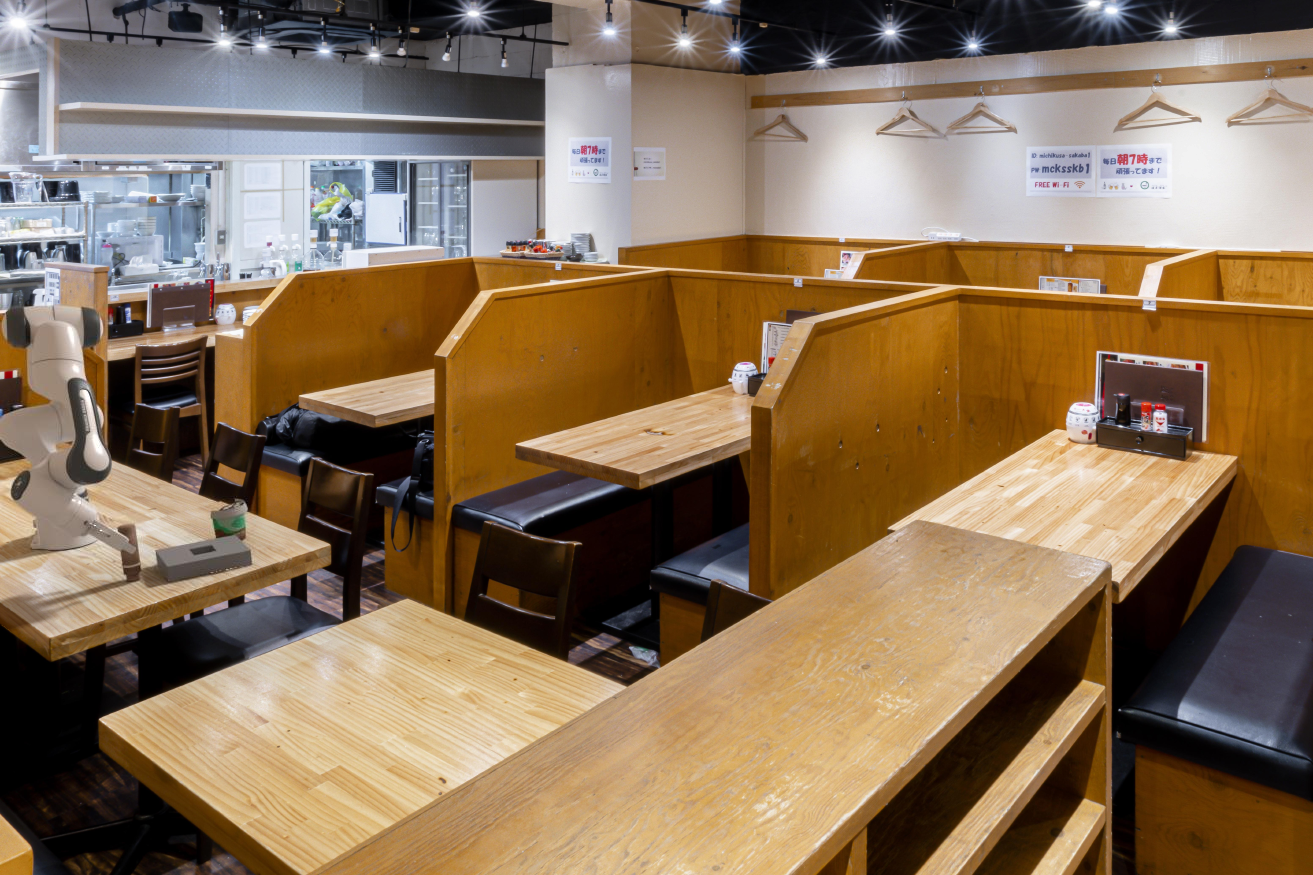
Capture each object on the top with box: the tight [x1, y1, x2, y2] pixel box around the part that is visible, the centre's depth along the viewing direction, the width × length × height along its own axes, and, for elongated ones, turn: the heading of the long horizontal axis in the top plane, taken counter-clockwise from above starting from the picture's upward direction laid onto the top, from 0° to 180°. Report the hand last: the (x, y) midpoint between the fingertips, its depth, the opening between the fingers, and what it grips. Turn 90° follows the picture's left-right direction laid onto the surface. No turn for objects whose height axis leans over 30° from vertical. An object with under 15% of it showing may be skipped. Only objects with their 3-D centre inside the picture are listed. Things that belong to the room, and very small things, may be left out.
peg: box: [116, 523, 142, 583], centre depth 262 cm, size 4×4×14 cm
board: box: [155, 535, 253, 583], centre depth 273 cm, size 15×20×4 cm
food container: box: [210, 498, 249, 542], centre depth 291 cm, size 12×6×10 cm, turn 168°
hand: (125, 546), depth 261 cm, fingers open, 8 cm apart
